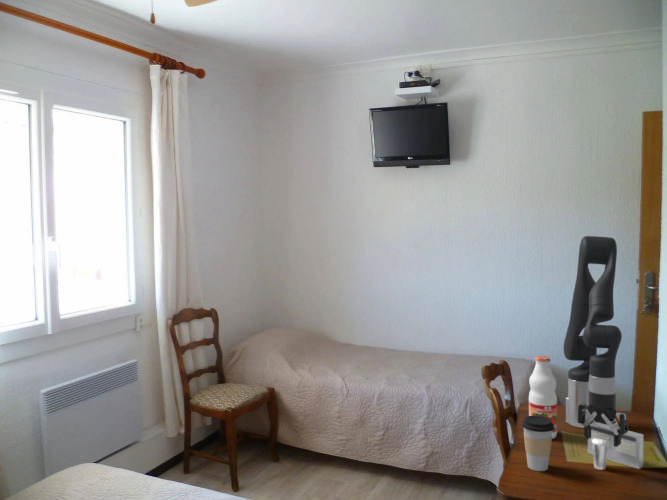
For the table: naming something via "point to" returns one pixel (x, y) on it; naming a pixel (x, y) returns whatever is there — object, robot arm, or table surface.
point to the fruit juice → (543, 392)
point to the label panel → (626, 451)
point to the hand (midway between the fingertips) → (602, 442)
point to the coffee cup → (537, 441)
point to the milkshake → (599, 452)
